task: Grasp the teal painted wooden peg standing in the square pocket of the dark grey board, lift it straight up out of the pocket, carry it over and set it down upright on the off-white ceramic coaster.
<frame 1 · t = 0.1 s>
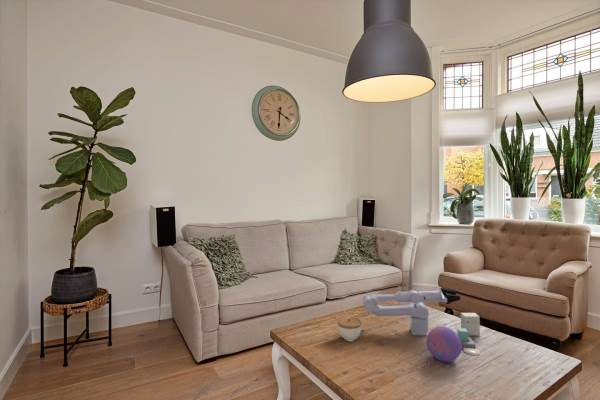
hand: (458, 295, 176), 22 cm above the table, tool horizontal, fingers open, 7 cm apart
coaster: (471, 351, 158), on the table
decorative ball: (443, 360, 151), on the table
lidded bowl: (349, 338, 175), on the table
peg: (462, 343, 167), resting in pocket board
pocket board: (453, 342, 168), on the table
small box: (470, 333, 178), on the table
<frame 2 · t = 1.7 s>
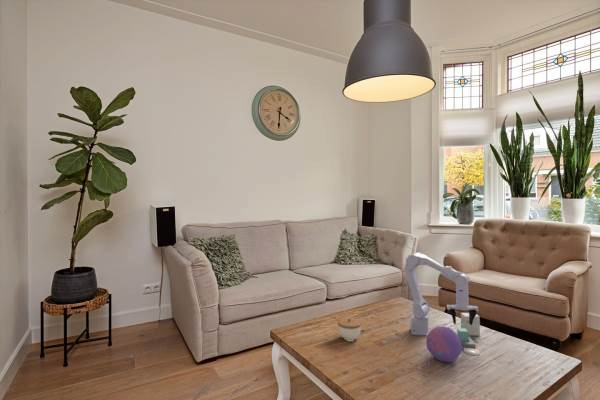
hand: (462, 323, 167), 10 cm above the table, tool pointing down, fingers open, 7 cm apart
nothing on the table moved.
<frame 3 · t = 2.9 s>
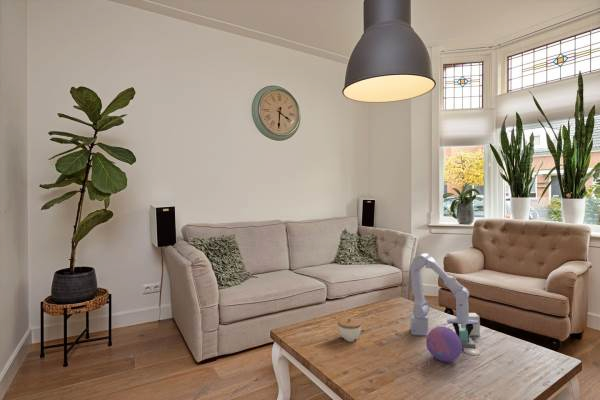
hand: (462, 337, 167), 3 cm above the table, tool pointing down, fingers closed on peg, 4 cm apart
peg: (462, 343, 167), resting in pocket board, touching gripper
everything else where it was.
when the fingers open (4 cm above the table, at t = 6.4 s): peg drops 1 cm, resting on coaster.
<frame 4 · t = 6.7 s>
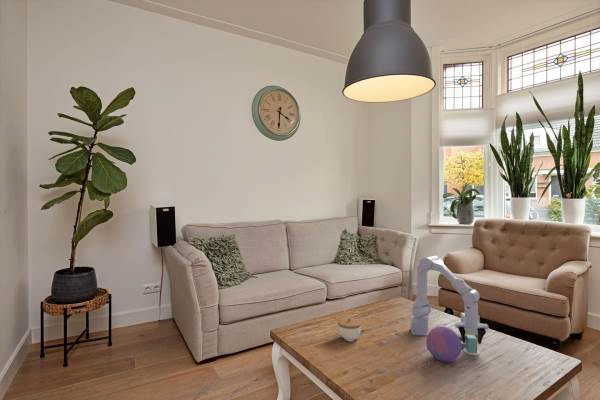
hand: (471, 342, 158), 4 cm above the table, tool pointing down, fingers open, 6 cm apart
peg: (471, 350, 158), resting on coaster
everything else where it was.
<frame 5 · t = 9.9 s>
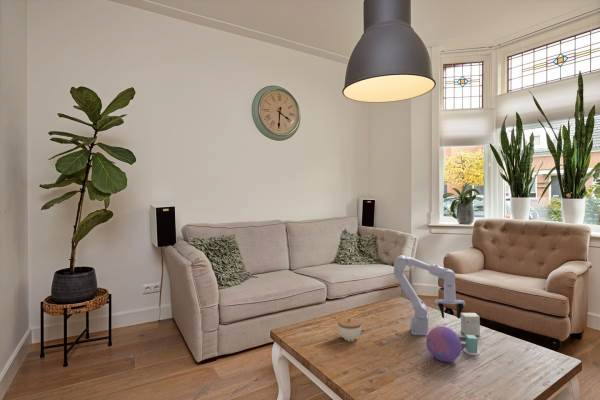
hand: (450, 317, 174), 10 cm above the table, tool pointing down, fingers open, 7 cm apart
nothing on the table moved.
at the end: peg 0.2 cm from the coaster (horizontally); peg tilted 0°; peg resting on coaster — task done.
